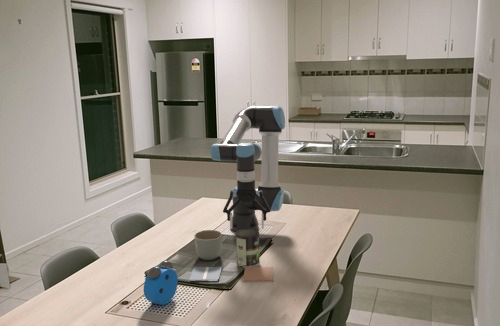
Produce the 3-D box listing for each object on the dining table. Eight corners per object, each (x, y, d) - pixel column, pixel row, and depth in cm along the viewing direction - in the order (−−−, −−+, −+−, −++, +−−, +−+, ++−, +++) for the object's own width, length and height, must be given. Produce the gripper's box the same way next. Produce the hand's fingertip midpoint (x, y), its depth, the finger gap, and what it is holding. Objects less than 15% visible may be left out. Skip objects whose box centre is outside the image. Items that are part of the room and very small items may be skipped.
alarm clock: (166, 292, 180) (164, 256, 176) (179, 295, 177) (177, 259, 174) (144, 308, 168) (141, 269, 165) (157, 312, 165) (154, 273, 162)
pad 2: (245, 268, 199) (245, 266, 198) (273, 268, 198) (273, 266, 198) (243, 281, 187) (243, 279, 187) (273, 281, 186) (273, 279, 186)
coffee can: (261, 258, 208) (261, 229, 205) (257, 268, 198) (256, 237, 195) (239, 257, 210) (238, 227, 207) (233, 267, 201) (232, 236, 198)
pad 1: (194, 268, 200) (193, 266, 199) (221, 268, 199) (221, 266, 199) (189, 281, 188) (189, 279, 188) (218, 281, 187) (218, 279, 187)
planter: (226, 253, 215) (226, 231, 213) (216, 264, 203) (215, 241, 201) (202, 250, 219) (201, 228, 217) (190, 261, 207) (189, 238, 205)
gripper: (215, 182, 193) (217, 230, 198) (275, 181, 192) (276, 230, 196) (217, 178, 201) (219, 224, 205) (275, 177, 200) (275, 224, 204)
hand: (247, 227), depth 201 cm, fingers open, 13 cm apart
